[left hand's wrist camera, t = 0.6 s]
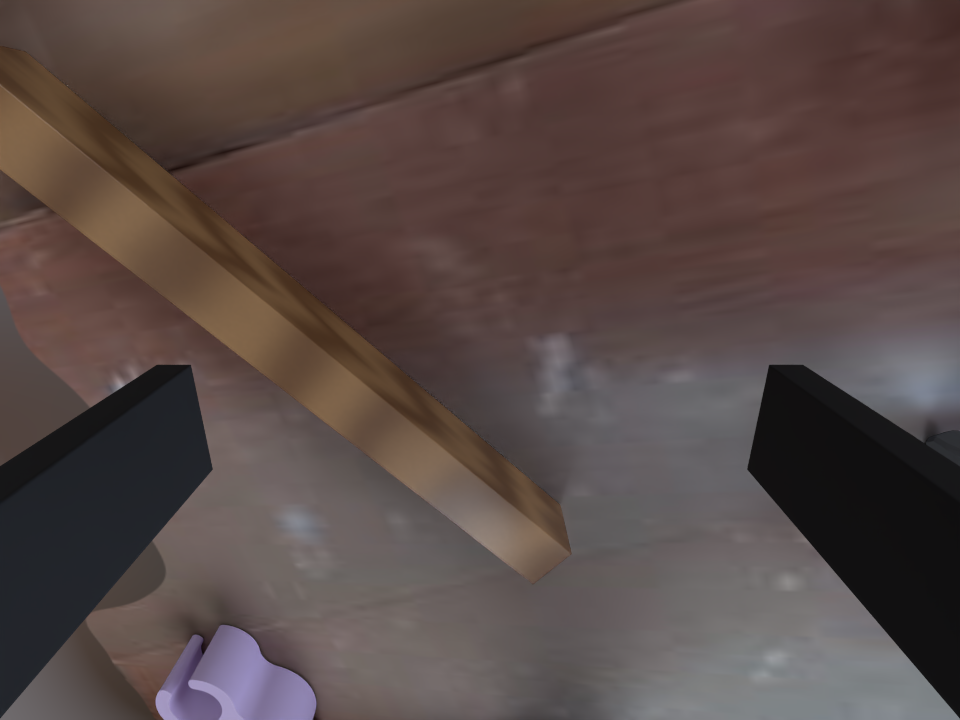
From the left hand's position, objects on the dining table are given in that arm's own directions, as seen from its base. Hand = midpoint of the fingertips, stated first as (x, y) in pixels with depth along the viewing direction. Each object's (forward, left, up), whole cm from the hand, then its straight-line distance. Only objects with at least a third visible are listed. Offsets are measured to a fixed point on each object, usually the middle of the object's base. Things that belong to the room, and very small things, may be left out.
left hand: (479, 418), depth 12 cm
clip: (+56, -26, -36) cm, 71 cm away
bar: (+10, -15, -36) cm, 40 cm away
